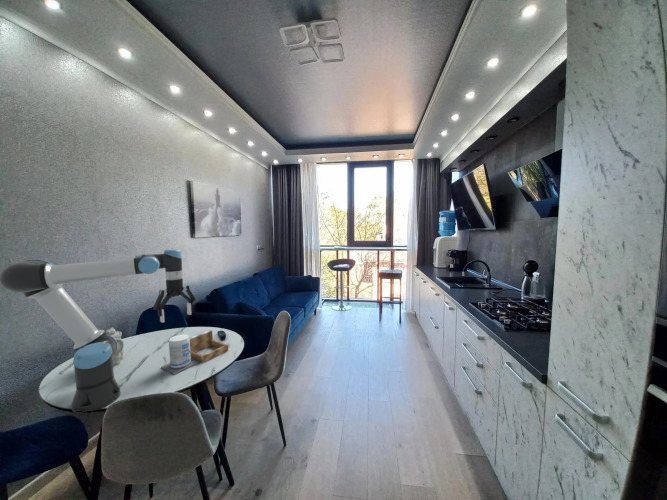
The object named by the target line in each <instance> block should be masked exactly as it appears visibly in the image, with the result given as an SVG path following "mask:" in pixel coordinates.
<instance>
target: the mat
mask: <svg viewBox="0 0 667 500" xmlns="http://www.w3.org/2000/svg"><path fill="white" fill-rule="evenodd" d="M198 364H200V362H199V361H196V360H194V359H192V358H191V362H190V363H189V364H188V365H186V366H184V367H181V368H172V367H171V366H170V362H169V363H167V364H165V365H162V366H160V368H161V369H162V370H163V371H164V370H165V371H166V372H168V373H170V374H172V375H173V376H174V375H177V374H179V373H182V372H184V371H186V370H188V369H190V368H192V367H194V366H197V365H198Z"/></svg>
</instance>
